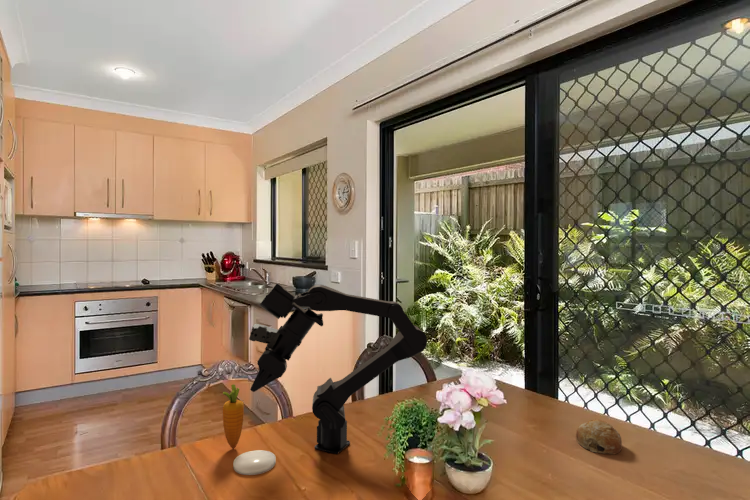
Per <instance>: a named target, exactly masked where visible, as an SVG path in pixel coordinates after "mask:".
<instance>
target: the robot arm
mask: <svg viewBox="0 0 750 500" xmlns="http://www.w3.org/2000/svg"><path fill="white" fill-rule="evenodd" d="M259 307H260V308H261V309H263V310H265V311H266V312H268V313H269V314H270V315H272V316H273V317H275V318H277V320H279V319H280V318H281V319H286V317H287V316H288V315H289V314H290V313H291V311H292V310H293V308H294V311H292V313H291V314H290V316H289V317H288V319H287V320H286V321H285V323H284V324H283V325H280V327H279V328H278V329H277V328H273V327H270V326H267V325H263V324H261V323H254V324H253V326H252V328H251V331H250V334H249V338H248V340H249V341H251V342H258V343H261V344H262V343H263V344H265V345H266V346H265V348H264V351H263V352H262V353H261V354H260V356H259V358H258V360H257V362H256V363H257V366H258V373H257V374H256V376H255V378H254V380H253V383H252V385H251V387H250V389H249V390H250V391H251V392H253V393H255V392H257V391H258V390H260V389H261V388H263V387H265V386H267V385H268V384H269V383H272V382H273V381H275V380H277V379H279V378H282V377H283V375H284V374H285V372H286V371H287V367H288V363H287V361H290V360H291V357H292V355H293V354H294V352H295V351H296V350H297V348H299V346H300V345H301V344H302V342H303V340H304V339H305V337H306V335H308V333H309V332H310V330H311V329H312V327H313V326H314V325H315V324H317V325H318V326H320V327H323V326H324V319H323V317H324V313H316V312H334V311H346V312H347V311H348V312H352V313H358V314H363V315H368V316H376V317H382V318H387V319H390V320H391V322H392V324H393V325H394V326H395V328H396V329H397V331H398V332H397V333H396V334H395V335H394V337H393V338H392V340H391V341H390V342H389V343H388V345H387V346H386V347H384V348H382V349H381V350H380V351H379V352H377V353H376V354H375V355H373V356H372V357H371V358H369V359H368V360H366V361H365V362H364V363H362V364H361V365H360V366H358V367H357V368H355V369H354V370H352V371H351V372H350V373H349V374H348V375H346V376H344V377H343V378H341V379H340V380H337V381H334V382H333V379H332V377H329V378H328V379H327V380H326V381H325V382H324V383H322V384H321V385H318V386H316V387H317V388H316V390H315V392H314V393H313V397H312V406H311V410H312V414H313V416H315V418H316V419H319V420H318V421H317V422H318V423H317V424H318V425H317V426H316V445H314V450H319V451H323V452H327V453H331V454H335V455H338V454H340V453H341V452H342V451H344V449H345V448H347V447H348V446H349V445H350V444H351V441H350V440H348V439H347V438H348V421H347V420H346V412H345V411H346V410H345V404H346V403H347V401H348V400H349V398H351V396H353V394H356V393H357V392H358V391H359V390H360V389H362V388H363V387H364V386H366V385H367V384H369V383H370V382H371V381H373V380H375V378H377V377H378V376H379V375H382V373H384V372H385V371H387V370H388V369H389V368H390V367H393V365H395V364H396V363H397V362H400V361H403V360H406V359H409V358H411V357H414V356H416V355H418V354H421V353H422V352H423V351H425V349H426V347H427V344H428V338H427V336H426V334H425V332H424V331H422V330H421V329H420V328H419V327H418V326H416V325H415V324H414V323H413V322H412V321H411V319H410V318H409V316H408V315H407V313H406V312H405V310H404V308H403V307H402V305H401V304H399V302H396V301H393V300H392V301H388V300H384V299H383V300H382V299H376V298H370V297H366V296H359V295H355V294H354V295H353V294H350V293H345V292H342V291H340V290H338V289H335V288H331V287H329V286H327V285H324V284H320V283H319V284H315V285H312V286H311V287H310V288H309V289H308V290H307V291H306V292H302V293H297V294H293V293H291V292H290V291H289V290H288V289H286V288H285V287H284V286H283V285H282V284H280V283H275V285H274V287H273V288H272V289H271V290H270V292H268V293H267V294H266V295H265V297H264V298H263V300H262V301H261V302H260V304H259ZM303 307H307V308H306V309H305V308H303Z"/></svg>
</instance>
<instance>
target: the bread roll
mask: <svg viewBox="0 0 750 500" xmlns="http://www.w3.org/2000/svg"><path fill="white" fill-rule="evenodd" d="M575 439H576V441H577V443H578V445H580V446H581V447H582V448H583V449H586V450H588V451H590V452H591V453H596V454H597V453H598V454H607V455H608V454H609V455H616V454H619V453H620V452H621V451H622V448H623V447H622V443H623V442H622V436H621V434H620V433H619V431H618V430H617V429H616V428H615V427H613V426H612V425H611V424H610V423H608V422H607V421H605V420H601V419H597V418H595V419H590V420H589V421H587V422H583V423H582V424H580V425H579V426H578V428H577V429H576V434H575Z"/></svg>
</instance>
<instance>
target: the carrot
mask: <svg viewBox="0 0 750 500" xmlns="http://www.w3.org/2000/svg"><path fill="white" fill-rule="evenodd" d="M230 386H231V391H230V393H229V392H227V391H223V392H222V395H224V396H225V397H227V398H228V400H227V401H225V403H223V406H222V423H223V431H224V434H225V435H224V436H225V439H226V441H227V443H228V445H229V447H230V448H231V449H232V450H234V449H235V448H237V445H238V443H239V441H240V438H241V435H242V429H243V424H244V416H245V415H244V413H245V403H244V402H243V400H239V399H238V396H239V392H240V388H239V387H236V384H231V385H230Z"/></svg>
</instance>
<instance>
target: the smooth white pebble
mask: <svg viewBox="0 0 750 500" xmlns="http://www.w3.org/2000/svg"><path fill="white" fill-rule="evenodd" d="M276 459H277V458H276V455H275V454H274V453H273V452H271V451H269V450H261V449H257V450H251V451H246V452H243V453H241V454H239V455H238V456H236V457H235V459H234V460H233V467H232V468H233V471H234V472H235V473H237V474H240V475H244V476H254V475H255V476H256V475H261V474H264V473H266V472H268V471H270V470H272V469H273V468H274V467H275V465H276V462H277V461H276Z"/></svg>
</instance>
